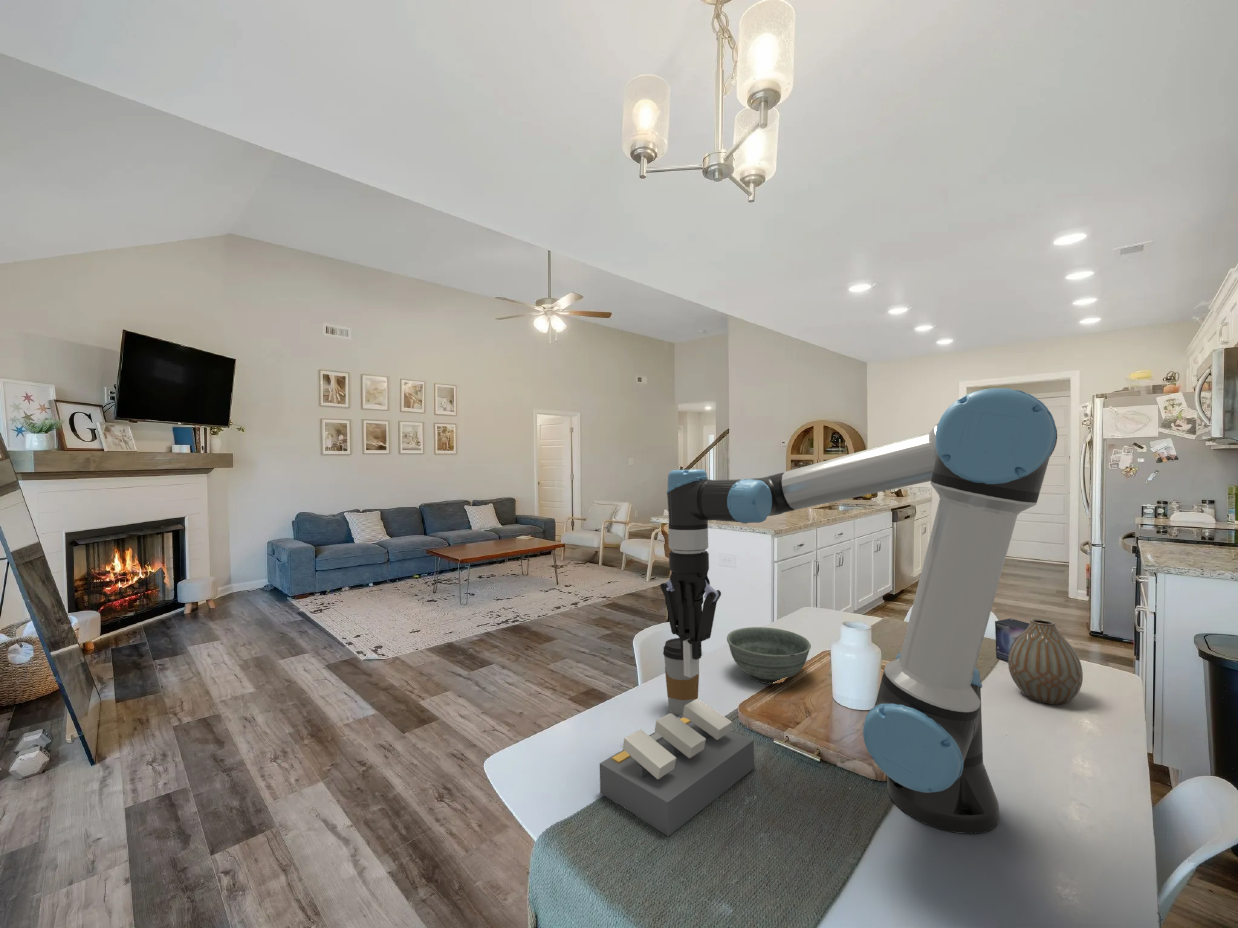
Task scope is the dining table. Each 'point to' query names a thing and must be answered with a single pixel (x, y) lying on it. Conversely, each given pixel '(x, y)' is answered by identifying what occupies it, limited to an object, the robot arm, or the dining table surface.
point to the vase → (1045, 664)
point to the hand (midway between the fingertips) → (691, 674)
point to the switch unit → (677, 779)
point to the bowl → (768, 652)
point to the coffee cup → (678, 678)
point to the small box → (1007, 636)
